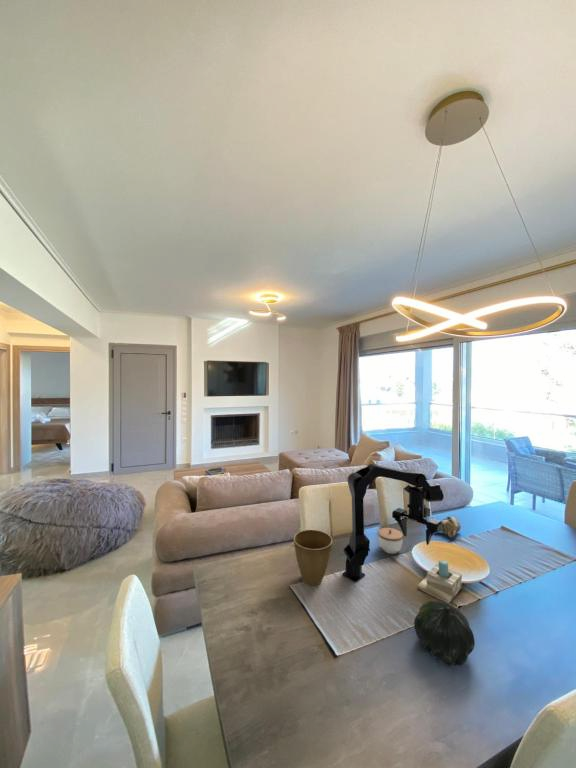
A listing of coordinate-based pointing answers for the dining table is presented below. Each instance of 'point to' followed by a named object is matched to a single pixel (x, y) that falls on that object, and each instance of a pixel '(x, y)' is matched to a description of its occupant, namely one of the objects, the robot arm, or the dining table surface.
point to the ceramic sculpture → (450, 526)
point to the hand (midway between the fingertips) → (416, 540)
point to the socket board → (435, 591)
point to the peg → (443, 569)
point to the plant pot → (312, 554)
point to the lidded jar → (390, 540)
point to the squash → (444, 632)
